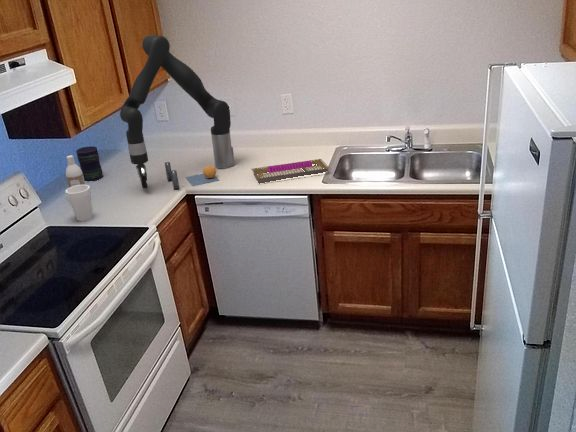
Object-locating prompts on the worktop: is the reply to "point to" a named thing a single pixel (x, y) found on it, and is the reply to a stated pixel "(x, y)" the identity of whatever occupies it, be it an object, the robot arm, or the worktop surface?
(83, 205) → the foam cup
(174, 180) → the post
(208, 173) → the ball
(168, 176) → the post
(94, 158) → the storage jar
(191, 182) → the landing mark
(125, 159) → the worktop surface
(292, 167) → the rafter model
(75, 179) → the bath foam
